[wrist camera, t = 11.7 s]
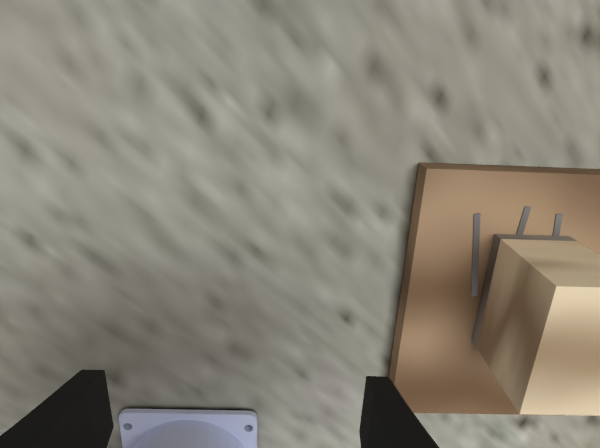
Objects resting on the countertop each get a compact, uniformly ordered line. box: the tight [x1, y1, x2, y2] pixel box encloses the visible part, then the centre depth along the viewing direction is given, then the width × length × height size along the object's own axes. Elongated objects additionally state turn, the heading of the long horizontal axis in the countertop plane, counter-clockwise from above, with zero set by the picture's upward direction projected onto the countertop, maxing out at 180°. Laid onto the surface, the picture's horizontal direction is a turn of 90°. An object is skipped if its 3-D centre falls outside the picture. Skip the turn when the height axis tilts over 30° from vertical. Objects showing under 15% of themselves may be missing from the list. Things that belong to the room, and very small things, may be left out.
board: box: [389, 163, 600, 415], centre depth 22 cm, size 14×10×1 cm
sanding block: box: [472, 234, 600, 416], centre depth 19 cm, size 6×4×5 cm, turn 178°
